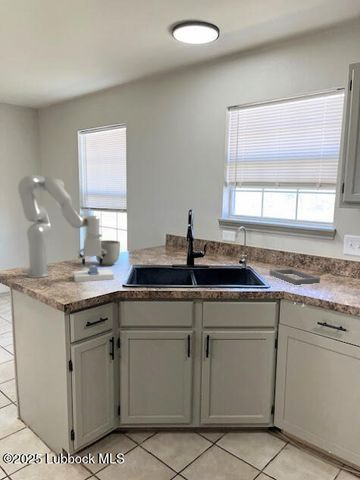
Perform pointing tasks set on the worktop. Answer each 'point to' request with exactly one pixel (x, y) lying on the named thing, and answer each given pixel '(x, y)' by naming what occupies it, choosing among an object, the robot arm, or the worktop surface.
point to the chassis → (86, 277)
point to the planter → (109, 252)
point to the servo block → (93, 270)
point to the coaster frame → (308, 278)
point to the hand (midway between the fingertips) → (92, 264)
